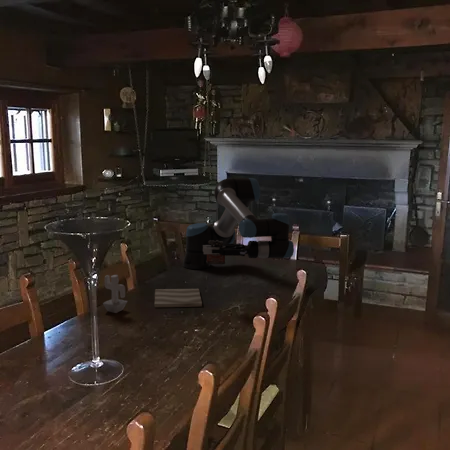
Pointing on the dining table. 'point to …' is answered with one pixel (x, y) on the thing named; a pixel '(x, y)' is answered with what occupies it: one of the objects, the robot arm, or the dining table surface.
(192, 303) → the board
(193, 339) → the dining table surface
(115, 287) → the figurine
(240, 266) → the dining table surface
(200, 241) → the robot arm
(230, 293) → the dining table surface
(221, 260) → the lighter
